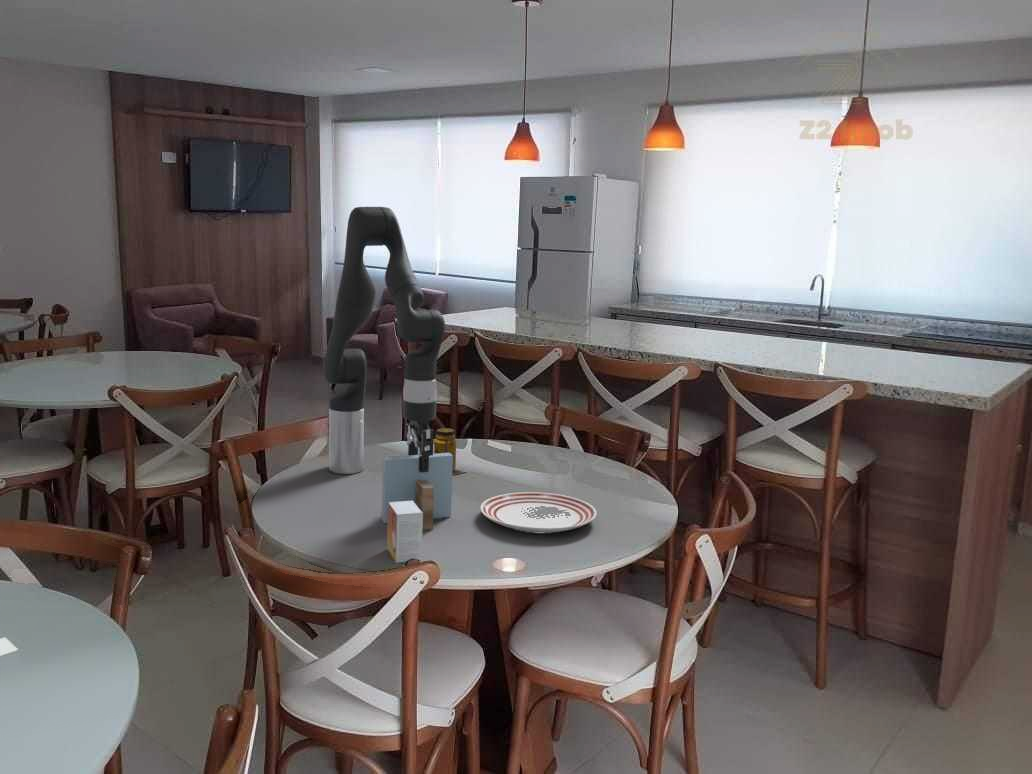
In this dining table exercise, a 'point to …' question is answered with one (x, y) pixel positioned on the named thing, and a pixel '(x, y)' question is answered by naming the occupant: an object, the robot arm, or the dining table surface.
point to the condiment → (447, 445)
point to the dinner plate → (510, 507)
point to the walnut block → (425, 502)
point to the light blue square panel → (405, 473)
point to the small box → (404, 531)
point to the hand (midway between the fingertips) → (418, 466)
